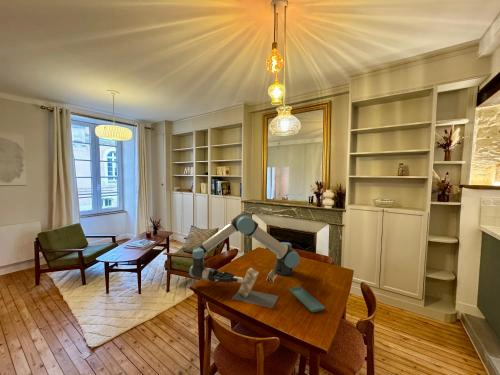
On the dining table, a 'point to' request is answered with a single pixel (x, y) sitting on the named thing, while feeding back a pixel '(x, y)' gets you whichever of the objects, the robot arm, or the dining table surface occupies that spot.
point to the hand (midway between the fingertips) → (242, 280)
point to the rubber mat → (258, 299)
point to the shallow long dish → (306, 299)
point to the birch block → (248, 282)
